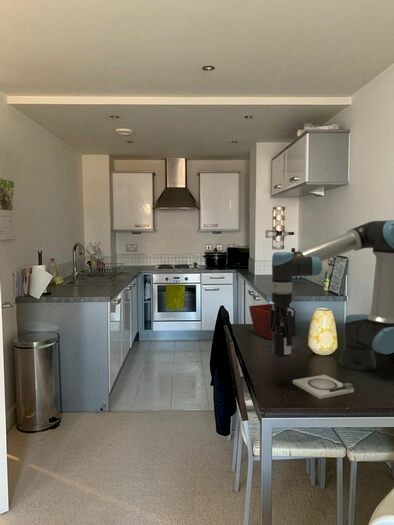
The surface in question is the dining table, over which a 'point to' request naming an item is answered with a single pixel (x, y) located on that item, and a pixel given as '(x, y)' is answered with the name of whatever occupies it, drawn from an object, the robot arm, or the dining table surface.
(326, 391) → the record player
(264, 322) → the plant pot
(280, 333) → the supplement bottle
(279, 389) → the dining table surface
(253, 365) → the dining table surface
